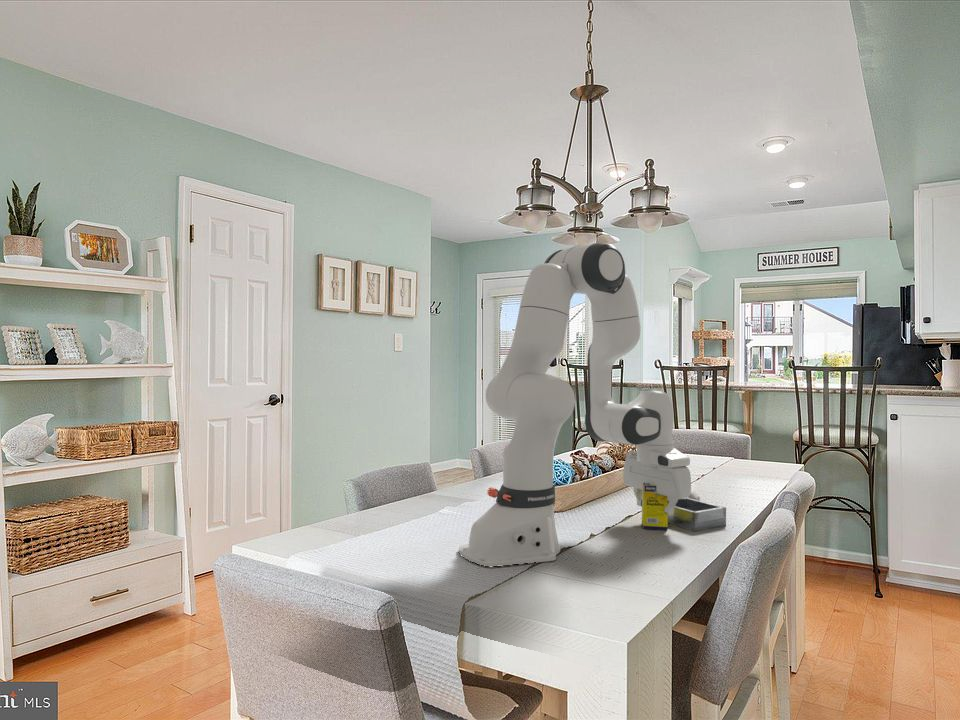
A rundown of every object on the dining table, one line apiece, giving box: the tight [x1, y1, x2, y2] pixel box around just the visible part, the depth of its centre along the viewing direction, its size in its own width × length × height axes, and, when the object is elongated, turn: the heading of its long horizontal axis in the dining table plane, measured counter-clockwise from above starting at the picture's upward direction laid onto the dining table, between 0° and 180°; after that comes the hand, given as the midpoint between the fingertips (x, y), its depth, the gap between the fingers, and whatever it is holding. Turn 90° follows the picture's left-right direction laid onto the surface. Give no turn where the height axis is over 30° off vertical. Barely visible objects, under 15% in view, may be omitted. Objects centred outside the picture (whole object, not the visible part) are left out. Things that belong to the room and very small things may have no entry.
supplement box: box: [641, 483, 669, 531], centre depth 163 cm, size 6×6×11 cm
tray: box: [668, 498, 727, 532], centre depth 169 cm, size 11×16×8 cm
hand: (655, 509), depth 164 cm, fingers closed on supplement box, 8 cm apart
